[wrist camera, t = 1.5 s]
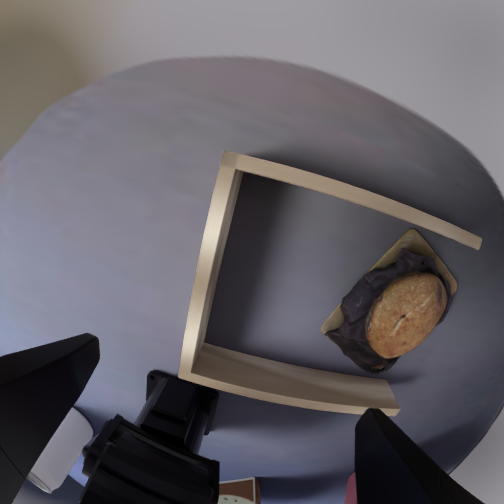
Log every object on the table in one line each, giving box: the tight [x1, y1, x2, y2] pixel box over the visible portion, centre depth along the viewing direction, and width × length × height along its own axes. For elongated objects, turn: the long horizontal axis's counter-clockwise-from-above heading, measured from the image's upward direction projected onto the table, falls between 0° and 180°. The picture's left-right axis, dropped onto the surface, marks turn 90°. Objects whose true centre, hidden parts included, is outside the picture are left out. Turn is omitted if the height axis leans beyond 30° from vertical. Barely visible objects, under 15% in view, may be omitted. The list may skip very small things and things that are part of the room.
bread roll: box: [321, 228, 458, 374], centre depth 18 cm, size 11×8×4 cm
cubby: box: [178, 151, 482, 416], centre depth 18 cm, size 15×17×4 cm
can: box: [27, 407, 93, 493], centre depth 21 cm, size 6×6×12 cm
